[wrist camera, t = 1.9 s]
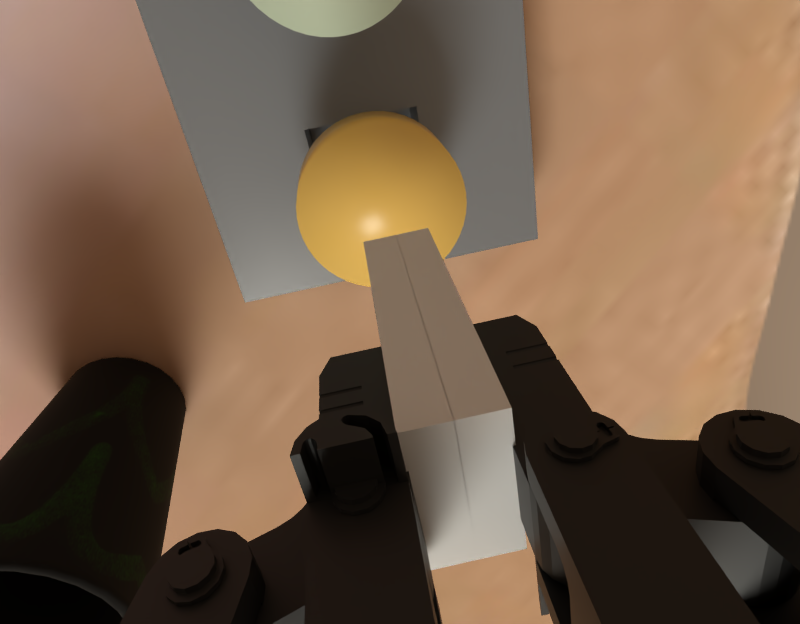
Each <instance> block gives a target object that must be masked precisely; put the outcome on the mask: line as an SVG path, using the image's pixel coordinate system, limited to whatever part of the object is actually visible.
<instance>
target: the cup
mask: <svg viewBox="0 0 800 624" xmlns="http://www.w3.org/2000/svg"><path fill="white" fill-rule="evenodd" d="M185 411H186V406H185V400H184V396H183V394H182V392H181V390H180V388H179V387H178V385H177V384H176V383H175V382H174V381H173V379H172V378H171V377H170V376H168V375H167V374H166V373H164V372H163V371H162V370H160V369H159V368H157V367H154V366H152V365H150V364H148V363H146V362H142V361H138V360H135V359H129V358H117V357H116V358H107V359H101V360H98V361H95V362H92V363H89V364H87V365H85V366H84V367H82V368H81V369H79V370H78V371H77V372H76V373H75V374H74V375H73V376H72V377H71V378H70V380H69V381H68V382H67V383H66V384H65V385H64V387H63V388H62V389H61V390H60V391H59V392H58V394H57V395H56V396H55V397H54V398H53V399H52V401H51V402H50V403H49V404H48V405H47V406H46V408H45V409H44V410H43V411H42V412H41V413H40V415H39V416H38V417H37V418H36V419H35V420H34V422H33V423H32V424H31V425H30V426H29V427H28V429H27V430H26V431H25V432H24V433H23V434H22V436H21V437H20V438H19V439H18V440H17V441H16V443H15V444H14V445H13V446H12V447H11V448H10V450H9V451H8V452H7V453H6V454H5V455H4V457H3V458H2V459H1V460H0V624H120V622H121V620H122V619H123V617H124V615H125V613H126V611H127V609H128V608H129V606H130V604H131V602H132V600H133V598H134V597H135V595H136V593H137V591H138V589H139V587H140V586H141V584H142V582H143V580H144V578H145V576H146V575H147V574H148V572H149V571H150V570H151V568H152V567H153V566H154V564H155V563H156V562H157V560H158V559H159V558H160V557H161V553H162V547H163V542H164V536H165V530H166V524H167V518H168V512H169V506H170V500H171V494H172V488H173V482H174V476H175V470H176V464H177V459H178V453H179V447H180V441H181V435H182V429H183V423H184V417H185Z"/></svg>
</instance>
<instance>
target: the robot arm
mask: <svg viewBox="0 0 800 624" xmlns="http://www.w3.org/2000/svg"><path fill="white" fill-rule="evenodd" d="M363 243H364V249H365V255H366V260H367V266H368V272H369V278H370V284H371V290H372V296H373V301H374V307H375V313H376V319H377V325H378V331H379V336H380V342H381V347H377V348H372V349H368V350H363V351H359V352H354V353H349V354H345V355H340V356H336V357H331V358H330V359H329V361H328V363H327V364H326V366H325V368H324V369H323V371H322V373H321V374H320V376H319V396H320V399H319V412H320V415H319V419H318V420H317V421H315V422H314V423H312V424H311V425H309V426H308V427H306V428H305V430H304V431H303V432H302V433H301V434H300V435H299V437H298V438H297V439H296V440H295V442H294V445H293V448H292V451H291V454H290V458H291V461H292V463H293V466H294V469H295V472H296V474H297V477H298V480H299V482H300V485H301V488H302V490H303V493H304V496H305V499H306V501H307V503H306V505H305V506H304V507H303V509H301V510H300V511H299V512H298V513H297V514H296V515H295V516H294V517H292V518H291V519H290V520H288V521H287V522H285V523H283V524H282V525H280V526H278V527H277V528H275V529H273V530H271V531H269V532H267V533H265V534H263V535H261V536H259V537H257V538H255V539H253V540H251V541H249V542H247V541H246V540H245V539H243V538H242V537H241V536H240V535H238V534H237V533H236V532H232V531H227V530H221V529H215V530H210V531H205V532H200V533H197V534H195V535H193V536H191V537H188V538H186V539H184V540H182V541H180V542H178V543H177V544H176V545H174V546H173V547H172V548H171V549H170V550H168V551H167V552H166V553H165V554H163V555H162V556H161V557H160V558H159V559H158V560H157V562H156V563H155V564H154V566H153V567H152V568H151V570H150V571H149V572H148V574H147V575H146V576H145V578H144V580H143V582H142V584H141V586H140V587H139V589H138V591H137V593H136V595H135V597H134V598H133V600H132V602H131V604H130V606H129V608H128V609H127V611H126V613H125V615H124V617H123V619H122V620H121V622H120V624H442V620H441V615H440V609H439V605H438V600H437V596H436V592H435V588H434V584H433V579H432V573H431V570H434V569H439V568H443V567H448V566H452V565H457V564H461V563H465V562H470V561H474V560H479V559H483V558H487V557H492V556H496V555H501V554H505V553H510V552H514V551H518V550H523V549H527V544H526V535H525V531H526V534H527V536H528V539H529V542H530V544H531V547H532V549H533V552H534V555H535V560H536V571H537V581H538V591H539V601H540V608H541V615H546V614H549V613H550V616H551V618H552V621H553V624H800V424H799V423H797V422H795V421H793V420H791V419H788V418H786V417H784V416H781V415H777V414H773V413H769V412H764V411H760V410H733V411H729V412H726V413H722V414H718V415H716V416H714V417H713V418H712V419H710V420H709V421H707V422H706V423H705V424H704V425H703V427H702V430H701V433H700V435H699V440H698V441H692V440H656V439H646V438H639V437H635V436H631V435H628V434H627V433H626V431H625V430H624V429H623V428H621V427H620V426H619V425H618V424H617V423H616V422H615V421H614V420H612V419H610V418H608V417H606V416H604V415H601V414H599V413H597V412H592V410H591V409H590V407H589V406H588V404H587V403H586V401H585V400H584V398H583V397H582V395H581V393H580V392H579V390H578V389H577V387H576V386H575V384H574V383H573V381H572V380H571V378H570V377H569V375H568V374H567V372H566V371H565V369H564V368H563V366H562V365H561V363H560V361H559V360H557V359H556V355H555V354H554V352H553V351H552V349H551V348H550V346H548V345H547V342H546V340H545V339H544V337H543V336H542V334H541V333H540V331H539V329H538V328H537V326H535V325H533V324H531V323H530V322H528V321H526V320H524V319H523V318H521V317H519V316H518V315H514V316H509V317H505V318H500V319H495V320H491V321H486V322H482V323H477V324H473V323H472V321H471V319H470V317H469V315H468V313H467V311H466V308H465V306H464V304H463V302H462V300H461V298H460V295H459V293H458V291H457V289H456V287H455V285H454V283H453V280H452V278H451V276H450V274H449V272H448V270H447V267H446V265H445V263H444V261H443V259H442V257H441V255H440V252H439V250H438V248H437V246H436V244H435V242H434V240H433V237H432V235H431V233H430V231H429V229H428V228H425V229H421V230H416V231H412V232H407V233H402V234H398V235H393V236H388V237H384V238H379V239H375V240H370V241H365V242H363Z"/></svg>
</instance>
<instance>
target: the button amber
mask: <svg viewBox="0 0 800 624" xmlns="http://www.w3.org/2000/svg"><path fill="white" fill-rule="evenodd" d="M466 206H467V199H466V190H465V184H464V181H463V178H462V175H461V172H460V170H459V168H458V166H457V164H456V162H455V161H454V159H453V158H452V156H451V155H450V153H449V152H448V151H447V150H446V148H445V147H444V146H443V145H442V143H441V142H440V141H439V140H438V139H437V137H436V136H435V135H434V134H433V133H432V132H431V131H430V130H428V129H427V128H426V127H425V126H424V125H422V124H420V123H419V122H417V121H415V120H414V119H411V118H409V117H407V116H405V115H401V114H398V113H394V112H387V111H369V112H362V113H358V114H354V115H351V116H348V117H346V118H344V119H342V120H340V121H338V122H336V123H335V124H333V125H331V126H330V127H329V128H328V129H326V130H325V131H324V132H323V133H322V134H321V135H320V136H319V137H318V138H317V139H316V140H315V142H314V143H313V145H312V146H311V147H310V149H309V151H308V152H307V154H306V156H305V158H304V161H303V164H302V167H301V170H300V175H299V180H298V189H297V200H296V214H297V221H298V226H299V230H300V233H301V235H302V238H303V240H304V242H305V244H306V246H307V248H308V249H309V251H310V252H311V254H312V255H313V256H314V258H315V259H316V260H317V261H318V262H319V263H320V264H321V265H322V266H323V267H324V268H326V269H327V270H328V271H329V272H331V273H333V274H334V275H336V276H337V277H339V278H341V279H343V280H346V281H348V282H351V283H354V284H357V285H362V286H367V287H371V284H370V278H369V272H368V266H367V260H366V255H365V249H364V243H363V242H365V241H370V240H375V239H379V238H384V237H388V236H393V235H398V234H402V233H407V232H412V231H416V230H421V229H425V228H428V229H429V231H430V233H431V235H432V237H433V240H434V242H435V244H436V246H437V248H438V250H439V252H440V255H441V257H442V259H443V260H444V259H445V257H446V256H447V255H448V254H449V253H450V251H451V250H452V248H453V247H454V245H455V244H456V242H457V240H458V238H459V236H460V234H461V231H462V228H463V225H464V221H465V216H466Z"/></svg>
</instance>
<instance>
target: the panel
mask: <svg viewBox="0 0 800 624" xmlns="http://www.w3.org/2000/svg"><path fill="white" fill-rule="evenodd" d="M136 3H137V6H138V9H139V11H140V14H141V17H142V20H143V22H144V25H145V28H146V31H147V33H148V36H149V39H150V42H151V44H152V47H153V50H154V53H155V55H156V58H157V61H158V64H159V66H160V69H161V72H162V75H163V77H164V80H165V83H166V86H167V89H168V91H169V94H170V97H171V100H172V102H173V105H174V108H175V111H176V113H177V116H178V119H179V122H180V124H181V127H182V130H183V133H184V135H185V138H186V141H187V144H188V146H189V149H190V152H191V155H192V157H193V160H194V163H195V166H196V168H197V171H198V174H199V177H200V180H201V182H202V185H203V188H204V191H205V193H206V196H207V199H208V202H209V204H210V207H211V210H212V213H213V215H214V218H215V221H216V224H217V226H218V229H219V232H220V235H221V237H222V240H223V243H224V246H225V248H226V251H227V254H228V257H229V259H230V262H231V265H232V268H233V271H234V273H235V276H236V279H237V282H238V284H239V287H240V290H241V293H242V295H243V298H244V301H245V302H250V301H254V300H259V299H264V298H268V297H273V296H277V295H282V294H286V293H291V292H296V291H300V290H305V289H309V288H314V287H319V286H323V285H328V284H332V283H337V282H341V281H346V280H343V279H341V278H339V277H337V276H336V275H334V274H333V273H331V272H329V271H328V270H327V269H326V268H324V267H323V266H322V265H321V264H320V263H319V262H318V261H317V260H316V259H315V258H314V256H313V255H312V254H311V252H310V251H309V249H308V248H307V246H306V244H305V242H304V240H303V238H302V235H301V233H300V230H299V226H298V221H297V214H296V200H297V189H298V180H299V175H300V170H301V167H302V164H303V161H304V158H305V156H306V154H307V152H308V151H309V149H310V147H311V146H312V145H313V143H314V142H315V140H316V139H317V138H318V137H319V136H320V135H321V134H322V133H323V132H324V131H325V130H326V129H328V128H329V127H330V126H331V125H333V124H335V123H336V122H338V121H340V120H342V119H344V118H346V117H348V116H351V115H354V114H358V113H362V112H369V111H387V112H394V113H398V114H401V115H405V116H407V117H409V118H411V119H414V120H415V121H417V122H419V123H420V124H422V125H424V126H425V127H426V128H427V129H428V130H430V131H431V132H432V133H433V134H434V135H435V136H436V137H437V139H438V140H439V141H440V142H441V143H442V145H443V146H444V147H445V148H446V150H447V151H448V152H449V153H450V155H451V156H452V158H453V159H454V161H455V162H456V164H457V166H458V168H459V170H460V172H461V175H462V178H463V181H464V184H465V190H466V199H467V206H466V216H465V221H464V225H463V228H462V231H461V234H460V236H459V238H458V240H457V242H456V244H455V245H454V247H453V248H452V250H451V251H450V253H449V254H448V255H447V256H446V257H445V259H447V258H452V257H456V256H461V255H465V254H470V253H474V252H479V251H484V250H488V249H493V248H497V247H502V246H507V245H511V244H516V243H520V242H525V241H529V240H534V239H538V233H537V218H536V202H535V186H534V171H533V155H532V139H531V124H530V108H529V92H528V76H527V61H526V45H525V29H524V14H523V0H402V1H401V2H400V3H399V4H398V5H397V7H396V8H395V9H394V10H393V11H392V12H391V13H389V14H388V15H387V16H386V17H385V18H384V19H382V20H381V21H379V22H378V23H376V24H374V25H373V26H371V27H369V28H367V29H365V30H362V31H360V32H357V33H354V34H350V35H346V36H339V37H317V36H311V35H306V34H303V33H299V32H296V31H293V30H291V29H289V28H287V27H285V26H282V25H281V24H279V23H277V22H276V21H274V20H272V19H271V18H269V17H268V16H267V15H266V14H264V13H263V12H262V11H261V10H259V9H258V8H257V7H256V6H255V5H254V4H253V3H252V2H251V1H250V0H136Z"/></svg>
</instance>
